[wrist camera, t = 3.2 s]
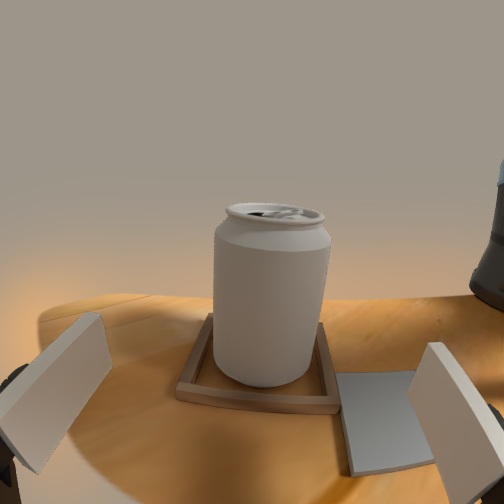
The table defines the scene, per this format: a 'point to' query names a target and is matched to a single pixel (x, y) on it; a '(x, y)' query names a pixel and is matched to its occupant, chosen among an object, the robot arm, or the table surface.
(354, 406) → the coaster
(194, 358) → the brown square frame
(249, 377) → the can
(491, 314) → the table surface
